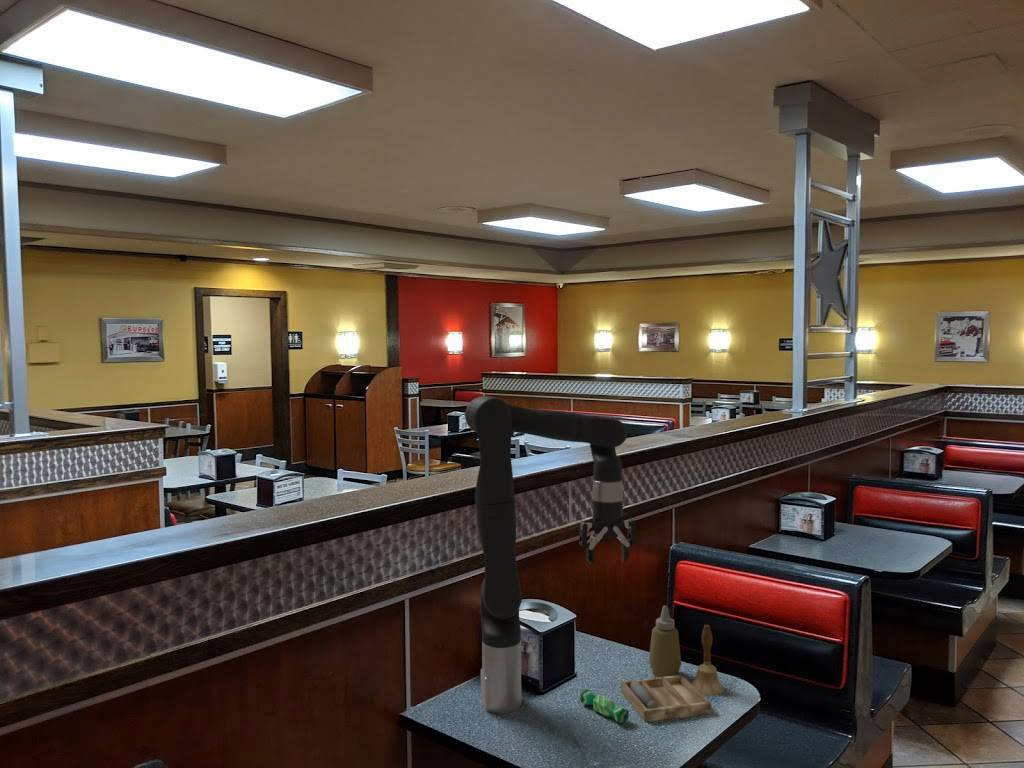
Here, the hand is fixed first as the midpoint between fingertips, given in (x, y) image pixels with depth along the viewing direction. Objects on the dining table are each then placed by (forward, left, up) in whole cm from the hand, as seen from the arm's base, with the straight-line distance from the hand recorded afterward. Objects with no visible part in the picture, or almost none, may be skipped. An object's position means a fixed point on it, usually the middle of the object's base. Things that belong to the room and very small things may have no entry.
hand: (607, 562), depth 186 cm
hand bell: (+22, -10, -30) cm, 39 cm away
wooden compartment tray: (+9, -14, -30) cm, 34 cm away
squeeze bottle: (+15, -1, -30) cm, 34 cm away
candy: (-7, -16, -31) cm, 35 cm away
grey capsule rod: (+4, -14, -29) cm, 33 cm away
